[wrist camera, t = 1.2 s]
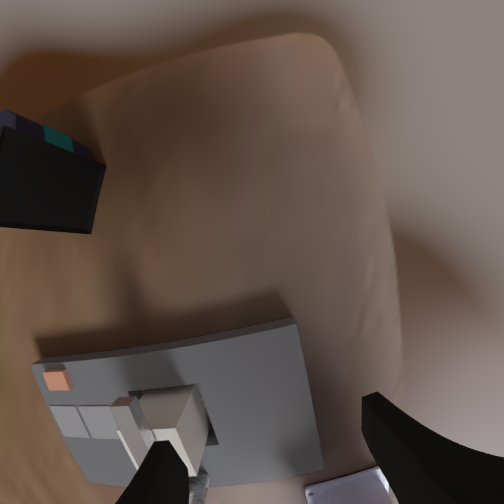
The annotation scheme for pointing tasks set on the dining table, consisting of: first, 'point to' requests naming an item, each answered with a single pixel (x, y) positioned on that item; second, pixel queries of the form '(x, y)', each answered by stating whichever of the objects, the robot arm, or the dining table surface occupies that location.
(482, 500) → the robot arm
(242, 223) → the dining table surface
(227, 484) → the power strip
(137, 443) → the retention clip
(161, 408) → the plug
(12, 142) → the speaker
